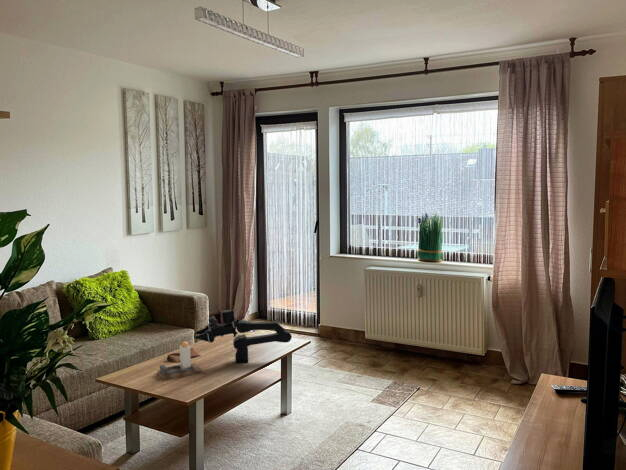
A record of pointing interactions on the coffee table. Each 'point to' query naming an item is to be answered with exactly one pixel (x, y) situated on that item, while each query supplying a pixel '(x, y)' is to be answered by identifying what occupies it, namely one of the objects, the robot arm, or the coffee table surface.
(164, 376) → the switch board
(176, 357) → the sunglasses case
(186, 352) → the white tall boxy piece
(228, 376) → the coffee table surface
